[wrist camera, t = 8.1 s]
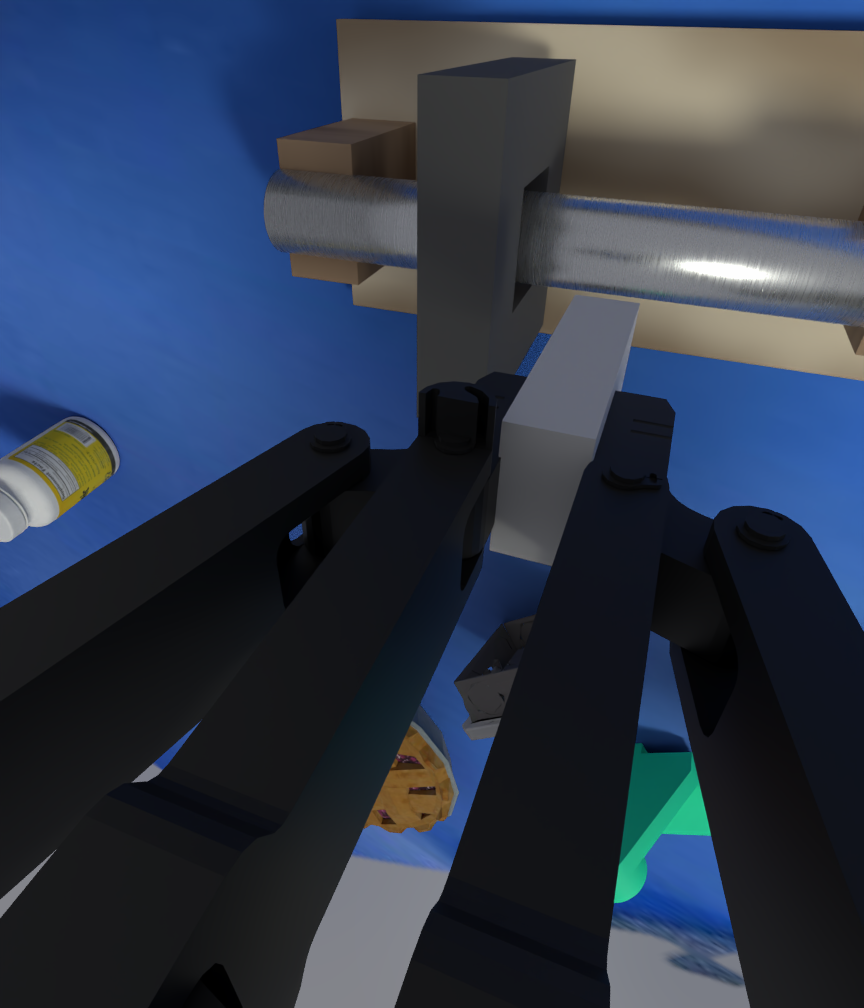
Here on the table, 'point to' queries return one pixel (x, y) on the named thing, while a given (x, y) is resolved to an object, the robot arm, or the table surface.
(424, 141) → the collar
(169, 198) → the table surface
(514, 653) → the electrical switch
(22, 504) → the supplement bottle
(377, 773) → the robot arm
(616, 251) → the pipe
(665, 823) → the camera mount
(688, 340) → the pipe stand
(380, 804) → the pie
